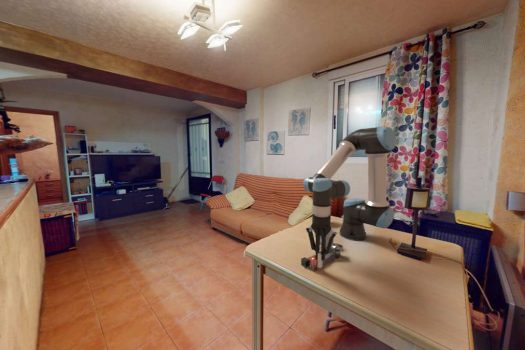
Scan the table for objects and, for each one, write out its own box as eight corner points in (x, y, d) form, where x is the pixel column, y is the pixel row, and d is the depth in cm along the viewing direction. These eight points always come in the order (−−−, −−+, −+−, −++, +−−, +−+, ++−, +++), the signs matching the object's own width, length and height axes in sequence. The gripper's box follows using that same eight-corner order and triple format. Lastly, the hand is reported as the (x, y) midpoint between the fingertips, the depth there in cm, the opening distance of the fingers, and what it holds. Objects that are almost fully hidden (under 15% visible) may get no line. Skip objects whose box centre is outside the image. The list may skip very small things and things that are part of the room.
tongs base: (332, 251, 104) (332, 244, 103) (342, 256, 99) (342, 248, 98) (301, 265, 91) (301, 256, 91) (310, 271, 86) (311, 263, 86)
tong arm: (334, 251, 103) (334, 242, 102) (344, 255, 99) (344, 246, 98) (306, 267, 89) (306, 256, 89) (317, 272, 85) (317, 261, 84)
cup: (336, 246, 109) (336, 231, 108) (322, 250, 104) (322, 234, 103) (326, 241, 115) (327, 226, 114) (313, 244, 111) (313, 229, 110)
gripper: (339, 214, 84) (337, 266, 87) (309, 209, 91) (308, 258, 94) (334, 219, 78) (333, 275, 80) (303, 214, 85) (302, 265, 87)
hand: (320, 266), depth 87 cm, fingers closed
